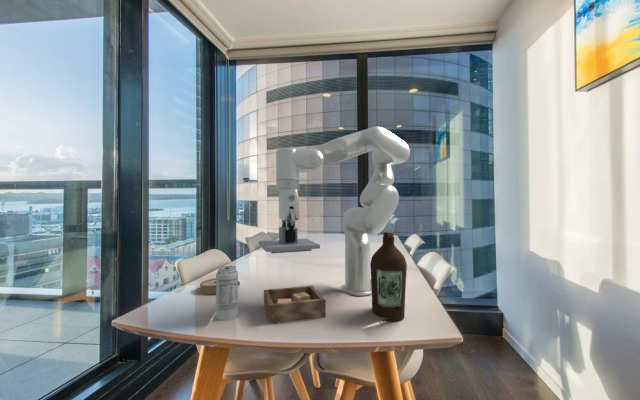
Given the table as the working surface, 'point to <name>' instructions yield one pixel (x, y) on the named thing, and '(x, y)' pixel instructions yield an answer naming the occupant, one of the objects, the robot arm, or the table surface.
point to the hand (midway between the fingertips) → (288, 240)
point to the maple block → (301, 296)
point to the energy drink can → (226, 293)
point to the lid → (288, 244)
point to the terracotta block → (284, 300)
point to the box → (293, 305)
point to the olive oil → (388, 280)
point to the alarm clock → (209, 286)
